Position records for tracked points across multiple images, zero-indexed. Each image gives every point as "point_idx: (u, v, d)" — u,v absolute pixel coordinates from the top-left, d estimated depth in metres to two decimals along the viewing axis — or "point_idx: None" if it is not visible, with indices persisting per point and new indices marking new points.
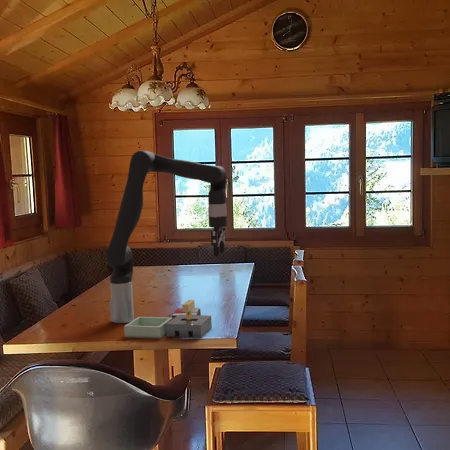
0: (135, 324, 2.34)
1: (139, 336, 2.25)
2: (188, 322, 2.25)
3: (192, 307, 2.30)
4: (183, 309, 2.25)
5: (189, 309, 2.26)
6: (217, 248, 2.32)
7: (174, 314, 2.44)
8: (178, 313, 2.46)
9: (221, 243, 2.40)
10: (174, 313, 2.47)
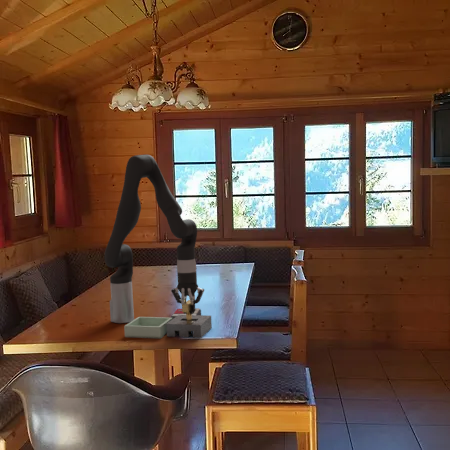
0: (135, 324, 2.34)
1: (139, 336, 2.25)
2: (188, 322, 2.25)
3: None
4: (183, 309, 2.25)
5: (189, 309, 2.26)
6: None
7: (173, 315, 2.44)
8: (178, 314, 2.46)
9: None
10: (174, 313, 2.47)
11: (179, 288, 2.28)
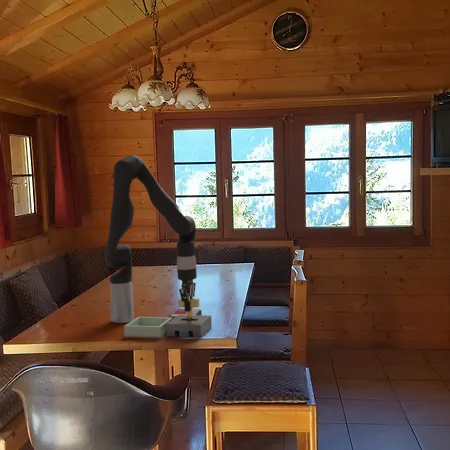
0: (135, 324, 2.34)
1: (139, 336, 2.25)
2: (188, 322, 2.25)
3: None
4: (198, 304, 2.27)
5: None
6: None
7: (173, 315, 2.43)
8: (177, 314, 2.45)
9: None
10: None
11: (187, 286, 2.25)
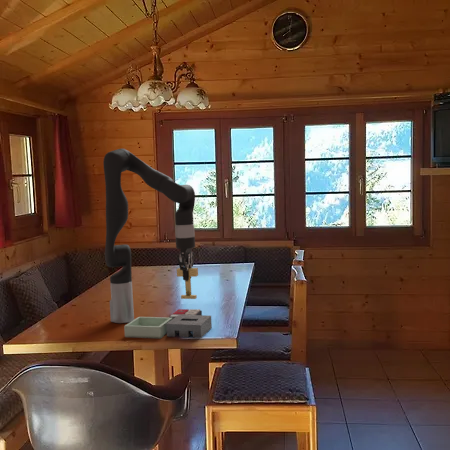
0: (135, 324, 2.34)
1: (139, 336, 2.25)
2: (188, 322, 2.25)
3: None
4: (196, 273, 2.26)
5: None
6: None
7: (172, 315, 2.43)
8: (176, 314, 2.45)
9: None
10: (172, 314, 2.46)
11: (186, 254, 2.24)
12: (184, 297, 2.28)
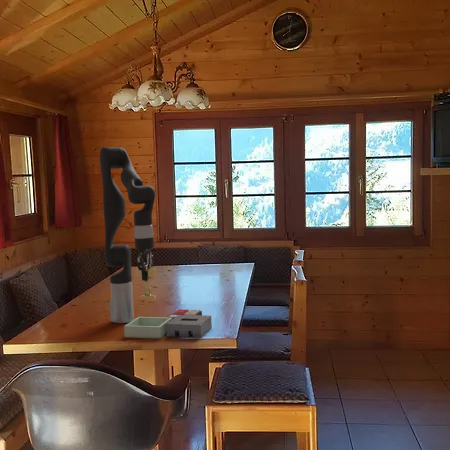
0: (135, 324, 2.34)
1: (139, 336, 2.25)
2: (188, 322, 2.25)
3: None
4: (155, 273, 2.27)
5: None
6: None
7: (171, 315, 2.42)
8: (175, 315, 2.44)
9: None
10: (172, 314, 2.45)
11: (144, 255, 2.25)
12: (143, 297, 2.29)
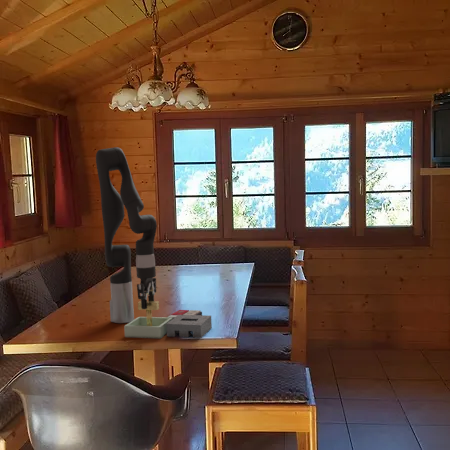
0: (135, 324, 2.34)
1: (139, 336, 2.25)
2: (188, 322, 2.25)
3: None
4: (157, 306, 2.29)
5: None
6: None
7: (169, 316, 2.42)
8: (174, 315, 2.44)
9: None
10: None
11: (146, 284, 2.26)
12: None
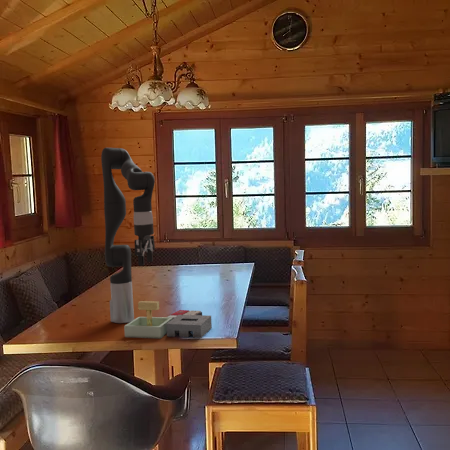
0: (135, 324, 2.34)
1: (139, 336, 2.25)
2: (188, 322, 2.25)
3: None
4: (157, 307, 2.29)
5: None
6: None
7: (169, 316, 2.42)
8: (174, 315, 2.43)
9: None
10: (171, 315, 2.45)
11: (143, 241, 2.24)
12: None
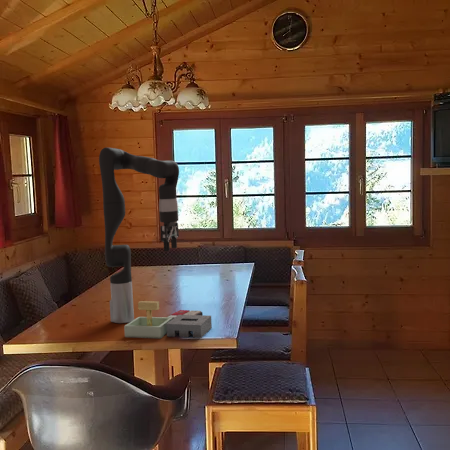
0: (135, 324, 2.34)
1: (139, 336, 2.25)
2: (188, 322, 2.25)
3: None
4: (157, 307, 2.29)
5: None
6: None
7: (169, 316, 2.42)
8: (174, 315, 2.43)
9: None
10: None
11: (169, 228, 2.32)
12: None
